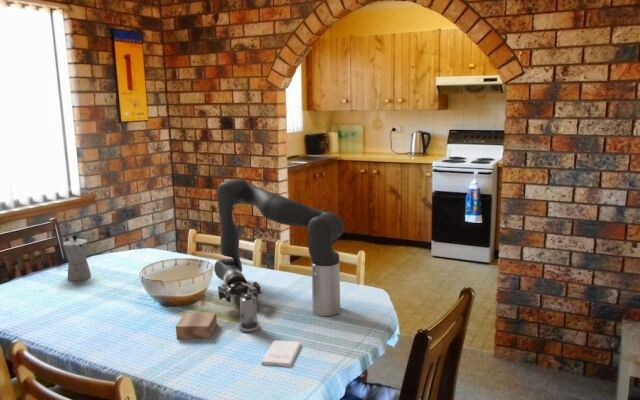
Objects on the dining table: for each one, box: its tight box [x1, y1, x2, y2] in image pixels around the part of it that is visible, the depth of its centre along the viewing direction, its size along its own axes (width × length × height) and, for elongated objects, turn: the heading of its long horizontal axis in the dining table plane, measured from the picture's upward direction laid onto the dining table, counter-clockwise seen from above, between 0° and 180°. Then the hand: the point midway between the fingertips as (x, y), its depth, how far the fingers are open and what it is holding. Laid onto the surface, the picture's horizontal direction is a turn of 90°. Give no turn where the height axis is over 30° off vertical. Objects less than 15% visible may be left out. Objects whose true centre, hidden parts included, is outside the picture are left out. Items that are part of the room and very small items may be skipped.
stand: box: [175, 312, 218, 340], centre depth 164 cm, size 10×10×4 cm
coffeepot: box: [62, 234, 92, 282], centre depth 215 cm, size 15×9×18 cm, turn 44°
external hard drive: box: [261, 339, 302, 368], centre depth 149 cm, size 2×8×12 cm
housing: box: [238, 293, 260, 334], centre depth 165 cm, size 6×6×11 cm
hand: (242, 297), depth 175 cm, fingers open, 8 cm apart
